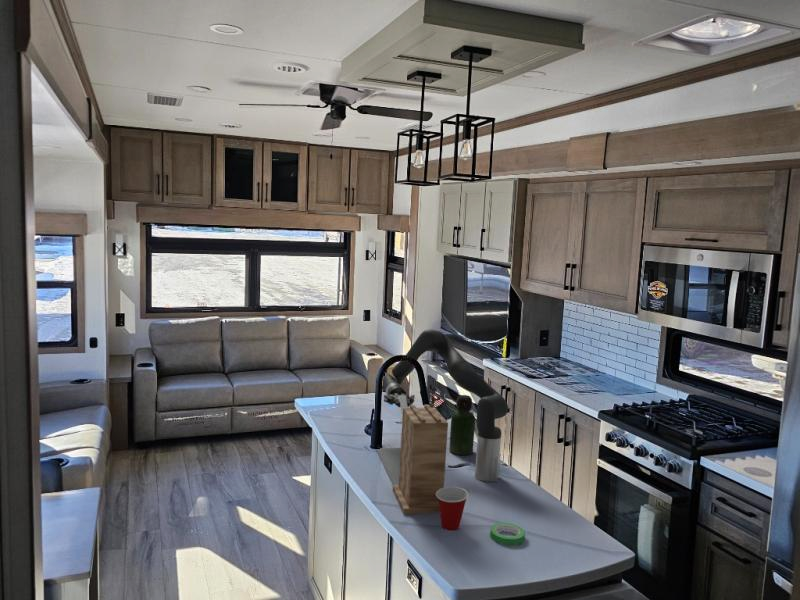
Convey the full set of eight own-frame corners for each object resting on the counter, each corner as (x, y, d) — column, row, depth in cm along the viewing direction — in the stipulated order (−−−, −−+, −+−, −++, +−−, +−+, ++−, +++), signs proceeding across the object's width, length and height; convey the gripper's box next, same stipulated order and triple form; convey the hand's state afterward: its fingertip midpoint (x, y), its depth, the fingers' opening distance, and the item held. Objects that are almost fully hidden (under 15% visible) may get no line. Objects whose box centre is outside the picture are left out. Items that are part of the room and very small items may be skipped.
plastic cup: (427, 521, 223) (430, 487, 221) (456, 517, 227) (458, 484, 226) (442, 536, 213) (444, 501, 211) (471, 532, 217) (474, 497, 216)
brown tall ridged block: (392, 490, 247) (397, 403, 243) (433, 489, 250) (439, 403, 246) (403, 514, 227) (409, 420, 223) (448, 512, 231) (454, 420, 227)
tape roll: (501, 548, 208) (502, 540, 208) (483, 532, 218) (484, 525, 218) (531, 543, 212) (531, 535, 212) (512, 528, 222) (512, 520, 222)
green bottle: (466, 447, 298) (470, 393, 295) (476, 455, 289) (480, 399, 286) (445, 448, 295) (449, 393, 292) (454, 456, 285) (458, 400, 282)
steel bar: (397, 400, 274) (398, 395, 273) (404, 400, 275) (405, 395, 273) (407, 454, 253) (408, 448, 251) (415, 453, 253) (416, 448, 252)
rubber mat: (375, 449, 289) (376, 448, 289) (407, 448, 292) (407, 447, 292) (394, 489, 248) (394, 487, 248) (430, 488, 251) (430, 486, 251)
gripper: (380, 384, 283) (387, 396, 267) (412, 384, 286) (421, 395, 270) (379, 401, 284) (386, 414, 268) (411, 401, 287) (420, 413, 271)
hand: (403, 404), depth 269 cm, fingers closed on steel bar, 3 cm apart
